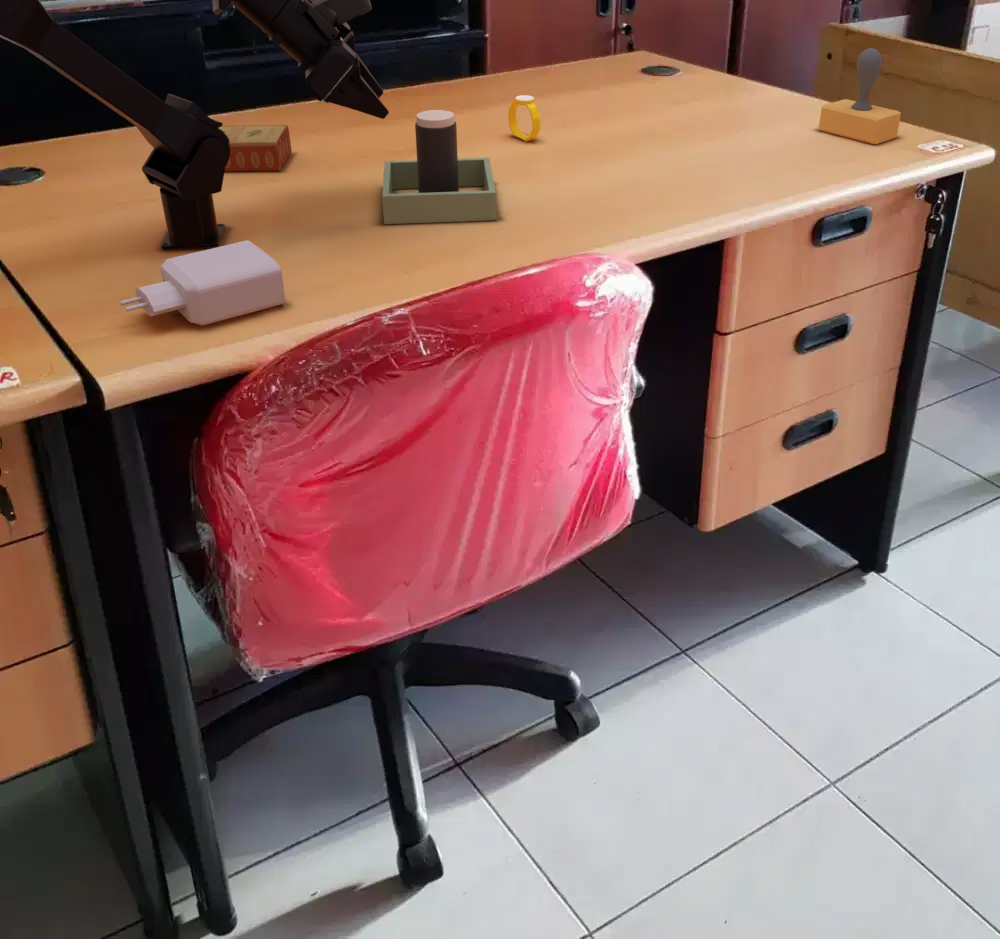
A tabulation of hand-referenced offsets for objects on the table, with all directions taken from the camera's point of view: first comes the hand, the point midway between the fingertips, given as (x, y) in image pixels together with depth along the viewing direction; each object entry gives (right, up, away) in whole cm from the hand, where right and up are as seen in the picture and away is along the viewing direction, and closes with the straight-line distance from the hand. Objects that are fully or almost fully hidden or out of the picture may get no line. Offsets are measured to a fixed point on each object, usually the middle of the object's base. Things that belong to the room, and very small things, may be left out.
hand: (383, 105), depth 128 cm
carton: (-24, -1, +22) cm, 33 cm away
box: (+6, -10, +8) cm, 14 cm away
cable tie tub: (+6, -10, +8) cm, 14 cm away
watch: (+17, +5, +30) cm, 35 cm away
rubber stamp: (+66, +6, +30) cm, 73 cm away
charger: (-17, -27, -18) cm, 37 cm away
